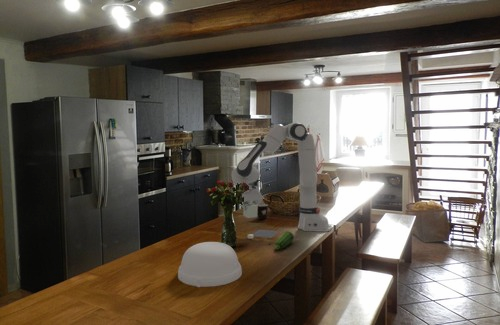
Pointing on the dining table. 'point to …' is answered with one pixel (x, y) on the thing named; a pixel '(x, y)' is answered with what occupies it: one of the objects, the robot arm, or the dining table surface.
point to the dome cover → (209, 265)
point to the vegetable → (284, 240)
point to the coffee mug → (262, 211)
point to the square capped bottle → (250, 210)
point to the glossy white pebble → (250, 236)
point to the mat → (265, 233)
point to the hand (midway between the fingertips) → (250, 208)
